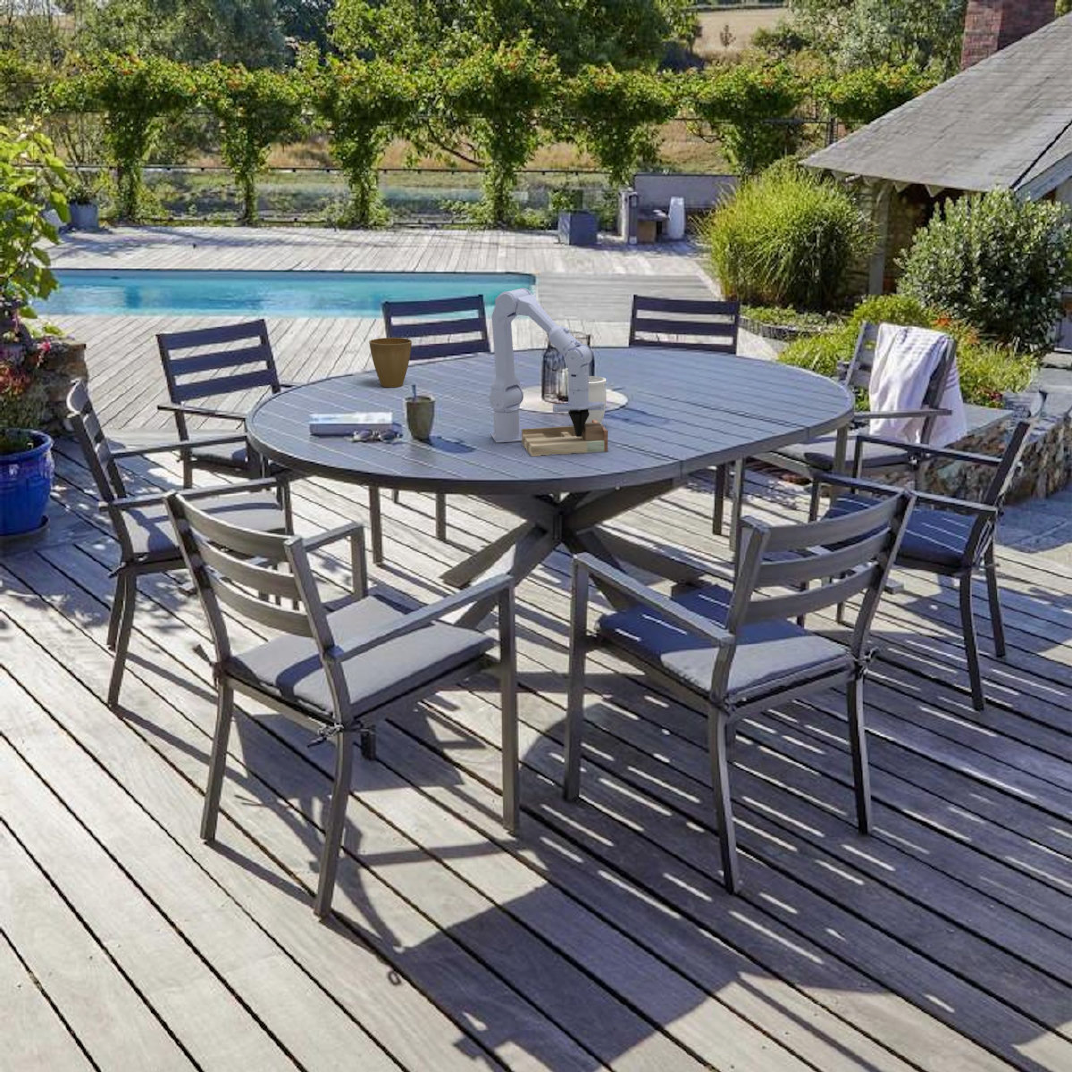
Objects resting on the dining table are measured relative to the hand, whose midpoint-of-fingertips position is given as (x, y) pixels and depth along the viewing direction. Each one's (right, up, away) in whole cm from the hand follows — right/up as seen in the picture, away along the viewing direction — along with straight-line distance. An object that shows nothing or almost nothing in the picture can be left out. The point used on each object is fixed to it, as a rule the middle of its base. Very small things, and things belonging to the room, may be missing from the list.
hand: (578, 436), depth 357 cm
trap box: (-4, -3, +3) cm, 6 cm away
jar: (+4, +5, +26) cm, 27 cm away
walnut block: (+4, -1, +1) cm, 4 cm away
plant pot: (-63, +25, +89) cm, 112 cm away
